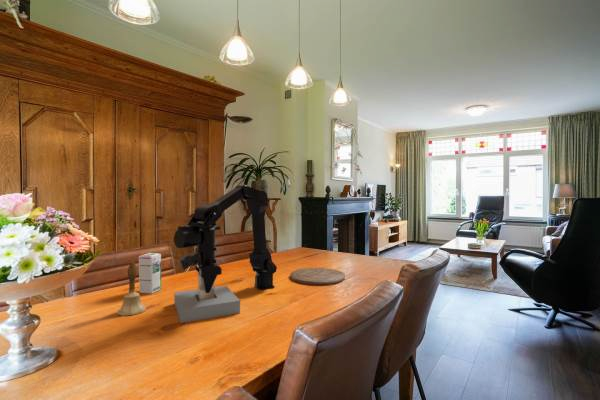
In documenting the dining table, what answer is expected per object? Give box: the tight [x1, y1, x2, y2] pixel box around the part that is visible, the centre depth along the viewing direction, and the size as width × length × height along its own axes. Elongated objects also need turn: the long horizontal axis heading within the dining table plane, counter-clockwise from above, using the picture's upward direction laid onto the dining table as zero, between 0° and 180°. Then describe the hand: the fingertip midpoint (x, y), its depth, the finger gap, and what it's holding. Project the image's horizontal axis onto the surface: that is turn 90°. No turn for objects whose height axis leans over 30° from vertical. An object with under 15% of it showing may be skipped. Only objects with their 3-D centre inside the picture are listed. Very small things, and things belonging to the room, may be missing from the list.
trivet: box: [289, 267, 346, 286], centre depth 144 cm, size 25×25×2 cm
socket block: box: [173, 285, 241, 324], centre depth 105 cm, size 18×18×4 cm
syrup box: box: [138, 252, 163, 294], centre depth 122 cm, size 6×6×14 cm
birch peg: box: [197, 271, 215, 300], centre depth 105 cm, size 4×4×9 cm
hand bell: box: [116, 261, 147, 317], centre depth 102 cm, size 8×8×16 cm
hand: (206, 290), depth 105 cm, fingers closed on birch peg, 4 cm apart
